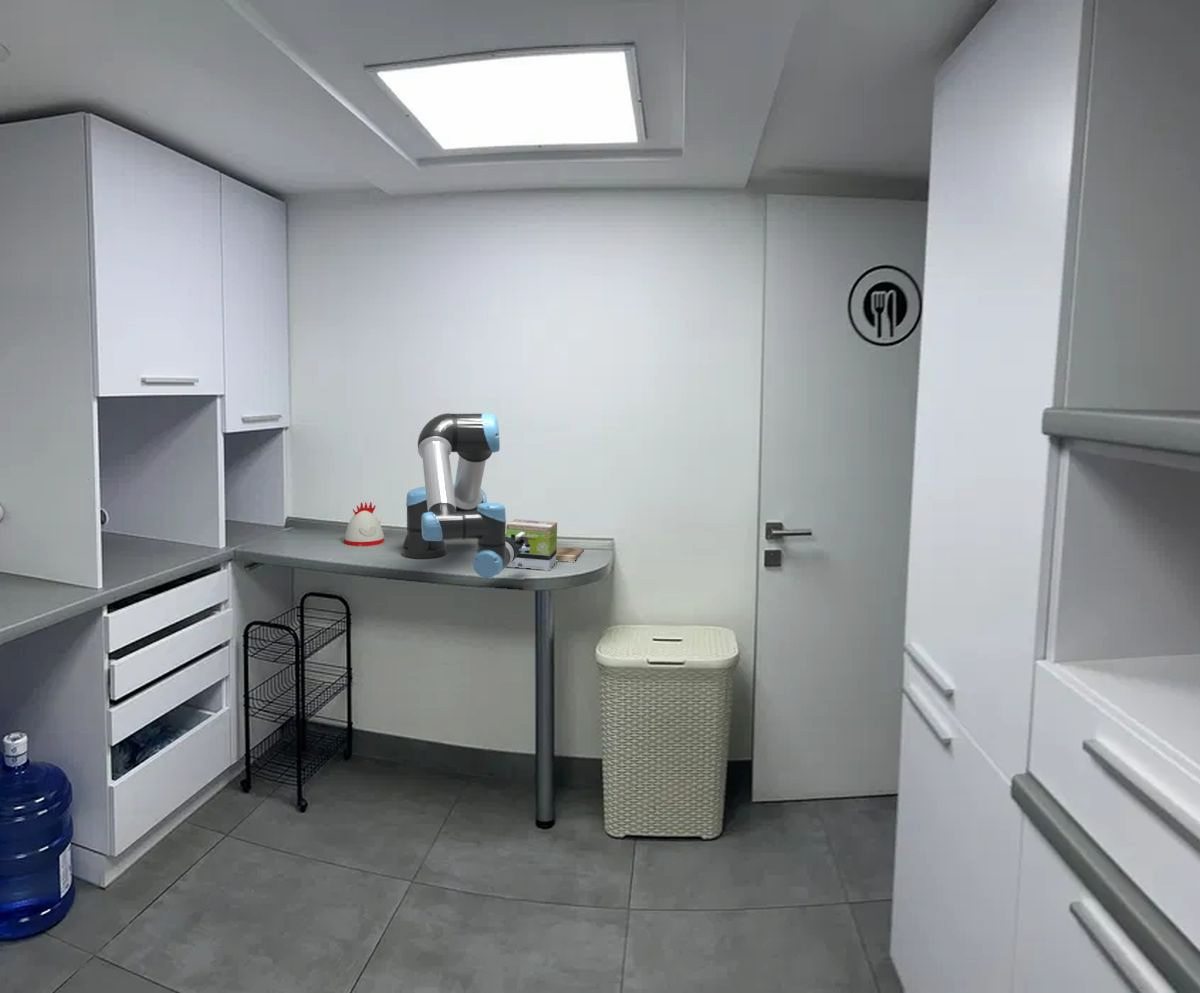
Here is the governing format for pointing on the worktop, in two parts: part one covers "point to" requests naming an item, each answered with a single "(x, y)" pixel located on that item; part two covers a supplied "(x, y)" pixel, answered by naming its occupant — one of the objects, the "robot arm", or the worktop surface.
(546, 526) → the tea box
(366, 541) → the kitchen timer
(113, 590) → the worktop surface
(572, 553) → the tan flat board
